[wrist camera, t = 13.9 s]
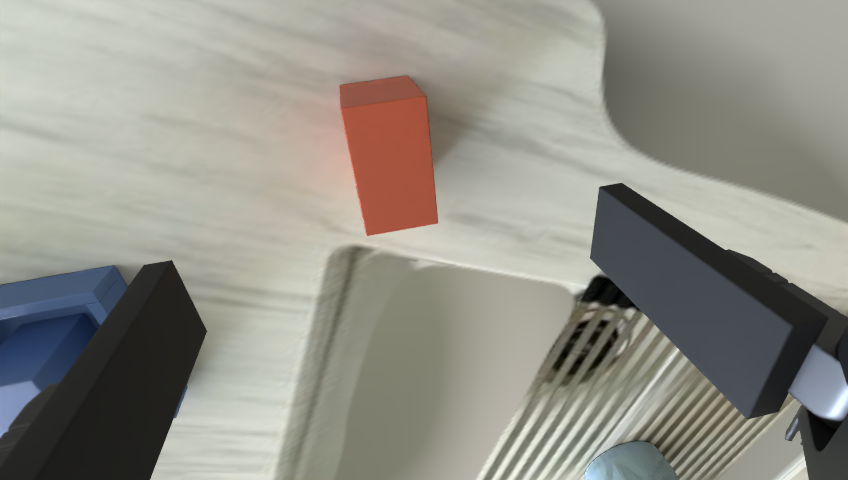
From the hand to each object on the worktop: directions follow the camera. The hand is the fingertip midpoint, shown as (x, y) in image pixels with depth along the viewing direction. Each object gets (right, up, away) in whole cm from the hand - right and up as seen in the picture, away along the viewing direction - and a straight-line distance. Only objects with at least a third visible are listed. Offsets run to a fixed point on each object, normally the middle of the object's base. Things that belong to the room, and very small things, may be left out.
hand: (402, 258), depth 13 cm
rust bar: (-2, +6, +9) cm, 11 cm away
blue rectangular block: (-20, -6, +12) cm, 25 cm away
